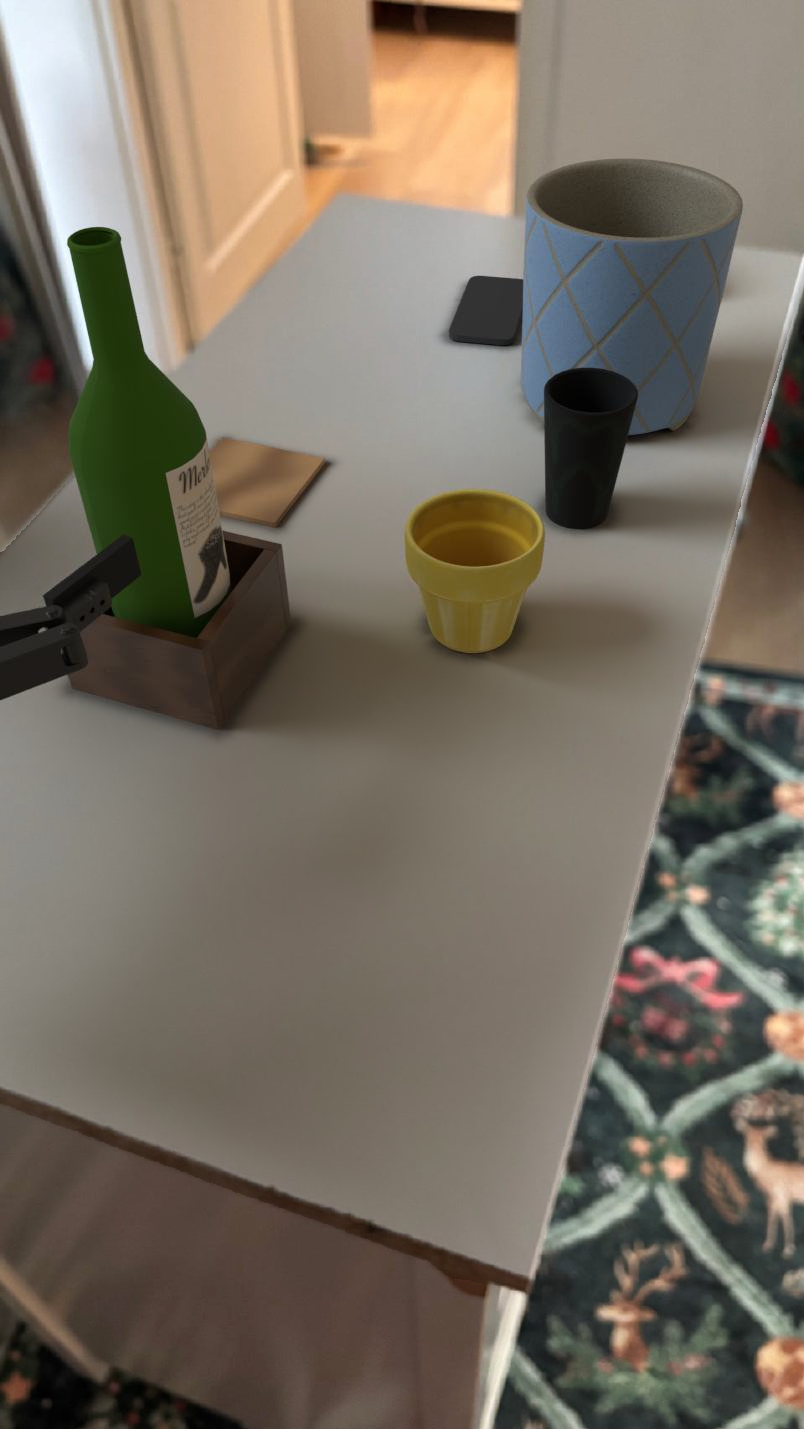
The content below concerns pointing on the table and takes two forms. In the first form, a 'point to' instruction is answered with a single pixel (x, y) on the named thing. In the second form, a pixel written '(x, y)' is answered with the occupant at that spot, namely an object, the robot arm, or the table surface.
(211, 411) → the table surface
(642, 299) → the planter
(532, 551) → the flower pot
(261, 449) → the cork mat
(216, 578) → the wine bottle
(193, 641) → the holder
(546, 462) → the cup
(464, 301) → the phone
